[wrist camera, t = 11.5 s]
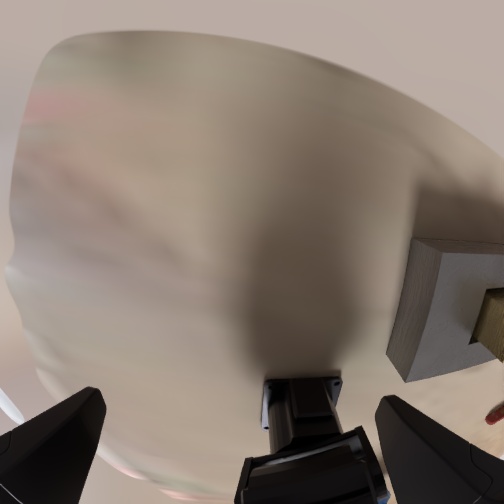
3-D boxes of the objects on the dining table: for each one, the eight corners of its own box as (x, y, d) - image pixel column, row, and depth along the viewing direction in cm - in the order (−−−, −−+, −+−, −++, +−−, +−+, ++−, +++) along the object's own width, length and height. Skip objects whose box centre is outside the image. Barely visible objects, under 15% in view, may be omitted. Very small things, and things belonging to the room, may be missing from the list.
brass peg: (474, 312, 20) (525, 353, 13) (449, 315, 20) (502, 363, 13) (483, 277, 19) (541, 312, 12) (459, 278, 19) (520, 318, 12)
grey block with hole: (498, 333, 21) (518, 350, 17) (386, 354, 21) (405, 382, 17) (522, 245, 19) (548, 256, 15) (411, 237, 18) (442, 252, 15)
